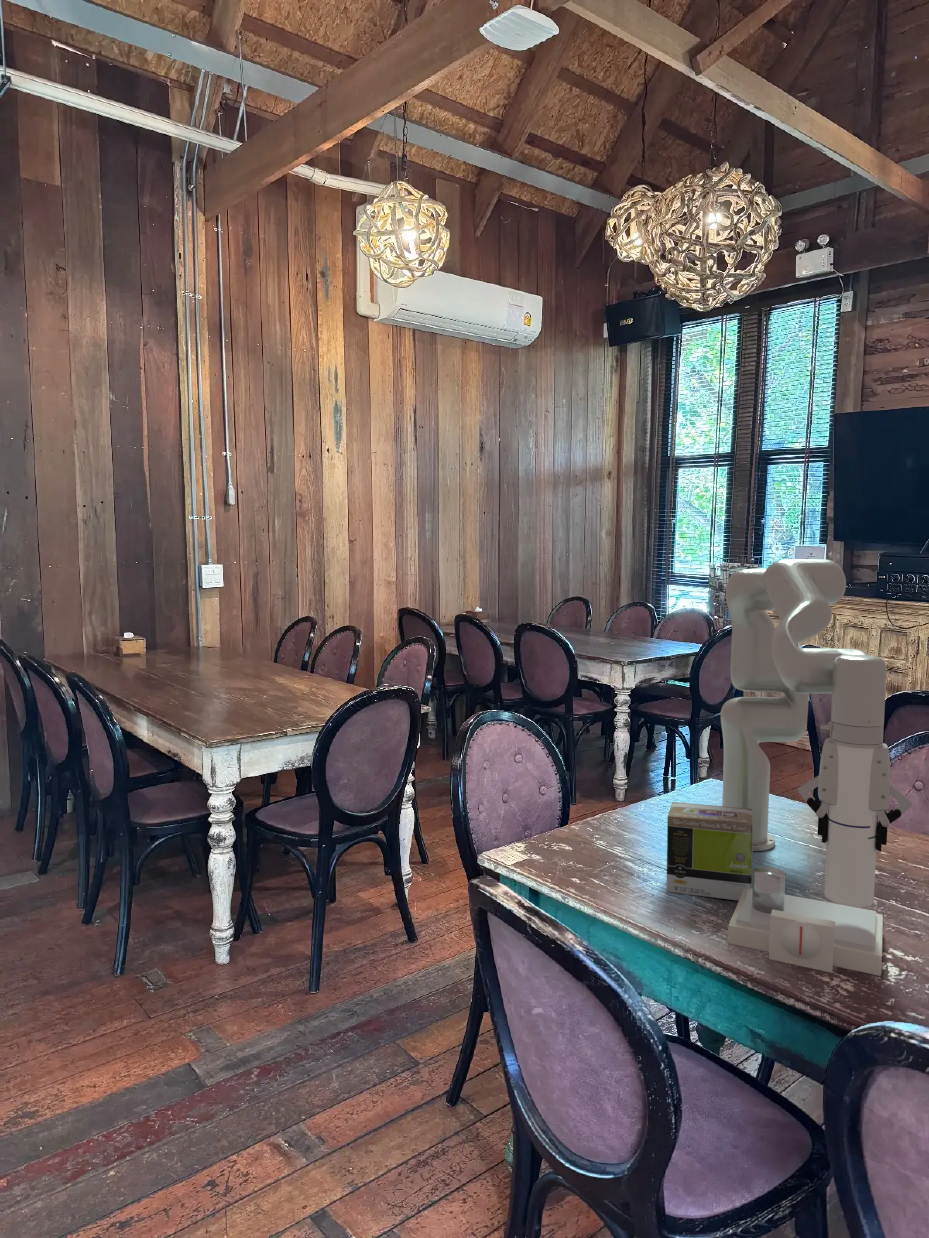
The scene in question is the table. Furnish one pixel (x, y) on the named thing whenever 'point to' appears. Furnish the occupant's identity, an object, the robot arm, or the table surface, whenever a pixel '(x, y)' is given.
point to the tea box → (709, 850)
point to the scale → (811, 934)
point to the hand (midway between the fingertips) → (851, 843)
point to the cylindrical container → (851, 832)
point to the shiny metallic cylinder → (768, 889)
